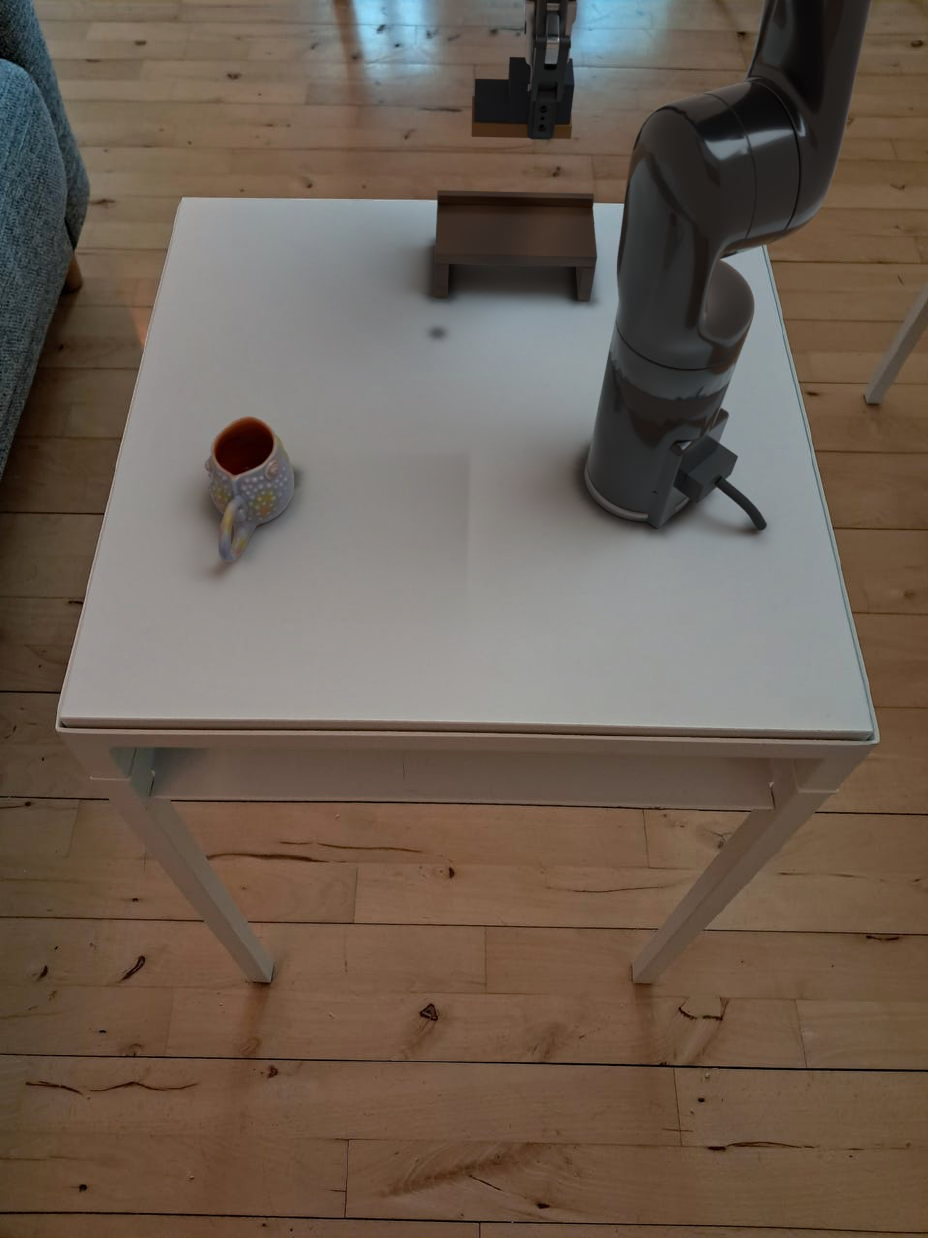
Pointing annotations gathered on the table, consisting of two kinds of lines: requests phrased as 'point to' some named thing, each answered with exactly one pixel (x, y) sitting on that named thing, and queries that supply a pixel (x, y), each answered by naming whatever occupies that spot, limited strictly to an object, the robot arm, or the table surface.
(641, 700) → the table surface
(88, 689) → the table surface
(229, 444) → the mug
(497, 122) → the stepped blocks on board
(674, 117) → the robot arm
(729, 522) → the table surface
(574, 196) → the shoe shelf
